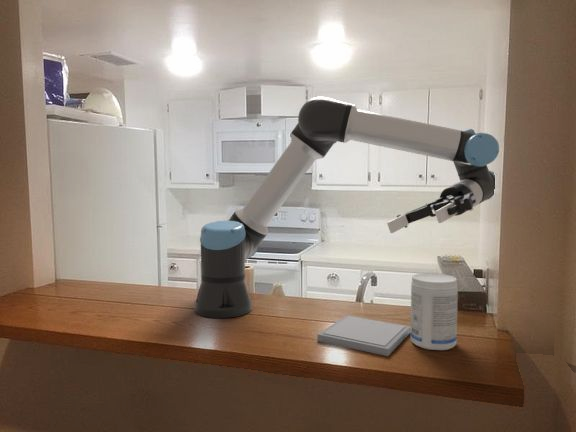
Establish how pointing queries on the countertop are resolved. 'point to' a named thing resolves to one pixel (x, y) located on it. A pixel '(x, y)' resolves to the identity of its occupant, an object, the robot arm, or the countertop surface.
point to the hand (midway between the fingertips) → (412, 222)
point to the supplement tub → (434, 311)
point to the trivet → (365, 335)
